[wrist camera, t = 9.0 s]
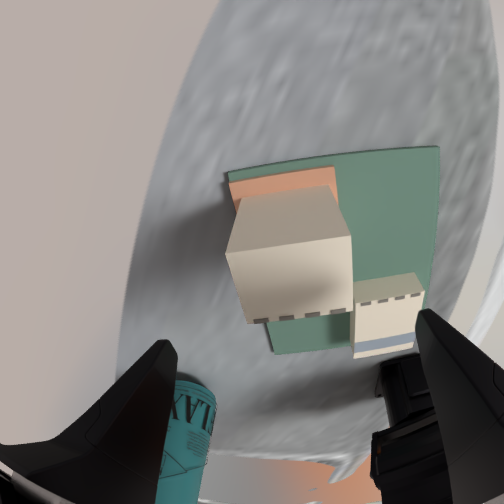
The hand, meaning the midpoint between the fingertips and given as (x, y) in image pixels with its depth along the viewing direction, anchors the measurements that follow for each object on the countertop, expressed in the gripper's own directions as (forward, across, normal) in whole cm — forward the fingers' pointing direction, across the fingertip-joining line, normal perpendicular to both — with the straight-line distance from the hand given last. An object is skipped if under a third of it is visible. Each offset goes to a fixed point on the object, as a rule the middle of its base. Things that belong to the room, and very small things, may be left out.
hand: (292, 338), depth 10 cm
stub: (+9, 0, 0) cm, 9 cm away
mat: (+10, -4, +5) cm, 12 cm away
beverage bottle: (+10, +13, +18) cm, 24 cm away
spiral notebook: (+10, -6, +9) cm, 14 cm away
